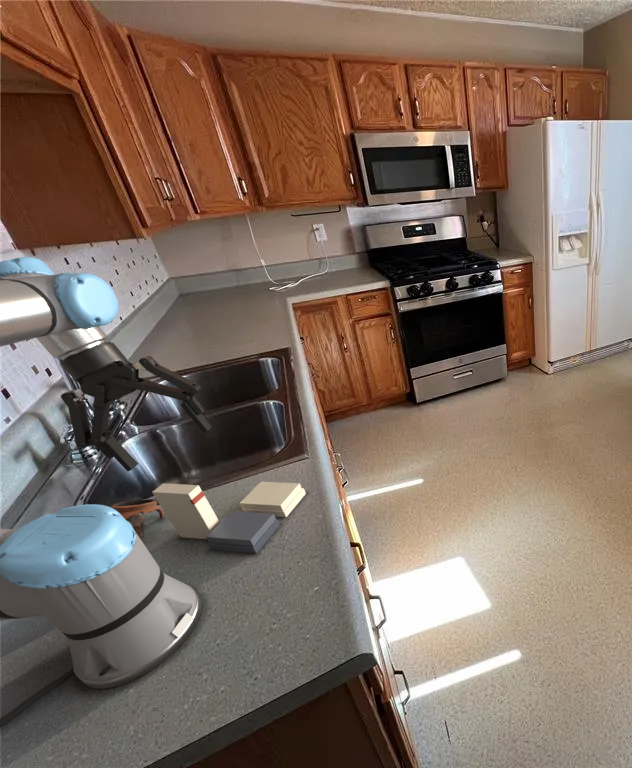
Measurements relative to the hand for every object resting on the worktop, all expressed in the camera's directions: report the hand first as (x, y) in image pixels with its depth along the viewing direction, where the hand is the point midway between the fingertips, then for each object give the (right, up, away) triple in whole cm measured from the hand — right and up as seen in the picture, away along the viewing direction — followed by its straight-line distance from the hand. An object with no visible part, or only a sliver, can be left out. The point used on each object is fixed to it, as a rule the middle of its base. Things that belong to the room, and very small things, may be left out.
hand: (171, 448), depth 78 cm
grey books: (+12, -18, +3) cm, 22 cm away
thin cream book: (+2, -18, +5) cm, 19 cm away
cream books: (+13, -14, +11) cm, 22 cm away
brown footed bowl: (-12, -19, +6) cm, 23 cm away
